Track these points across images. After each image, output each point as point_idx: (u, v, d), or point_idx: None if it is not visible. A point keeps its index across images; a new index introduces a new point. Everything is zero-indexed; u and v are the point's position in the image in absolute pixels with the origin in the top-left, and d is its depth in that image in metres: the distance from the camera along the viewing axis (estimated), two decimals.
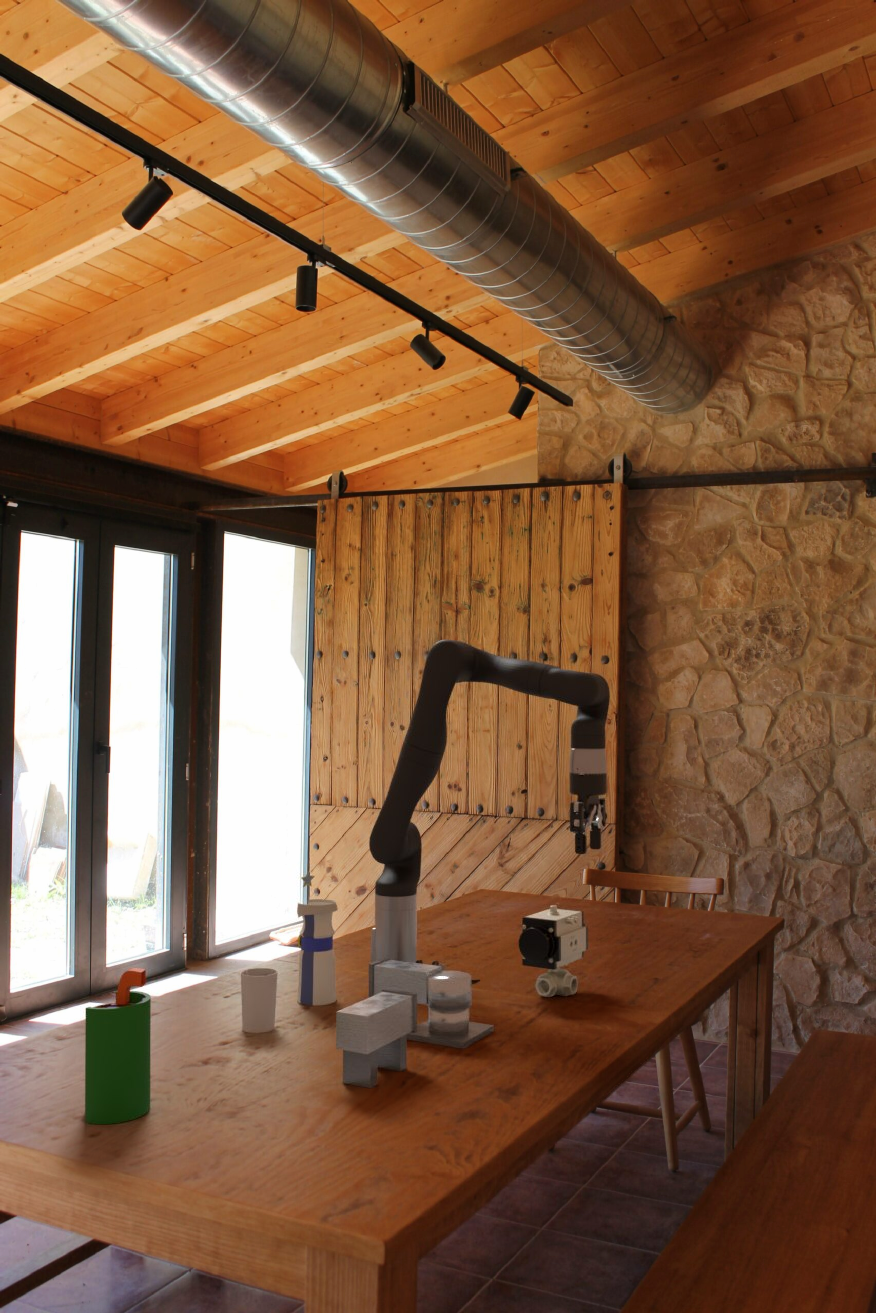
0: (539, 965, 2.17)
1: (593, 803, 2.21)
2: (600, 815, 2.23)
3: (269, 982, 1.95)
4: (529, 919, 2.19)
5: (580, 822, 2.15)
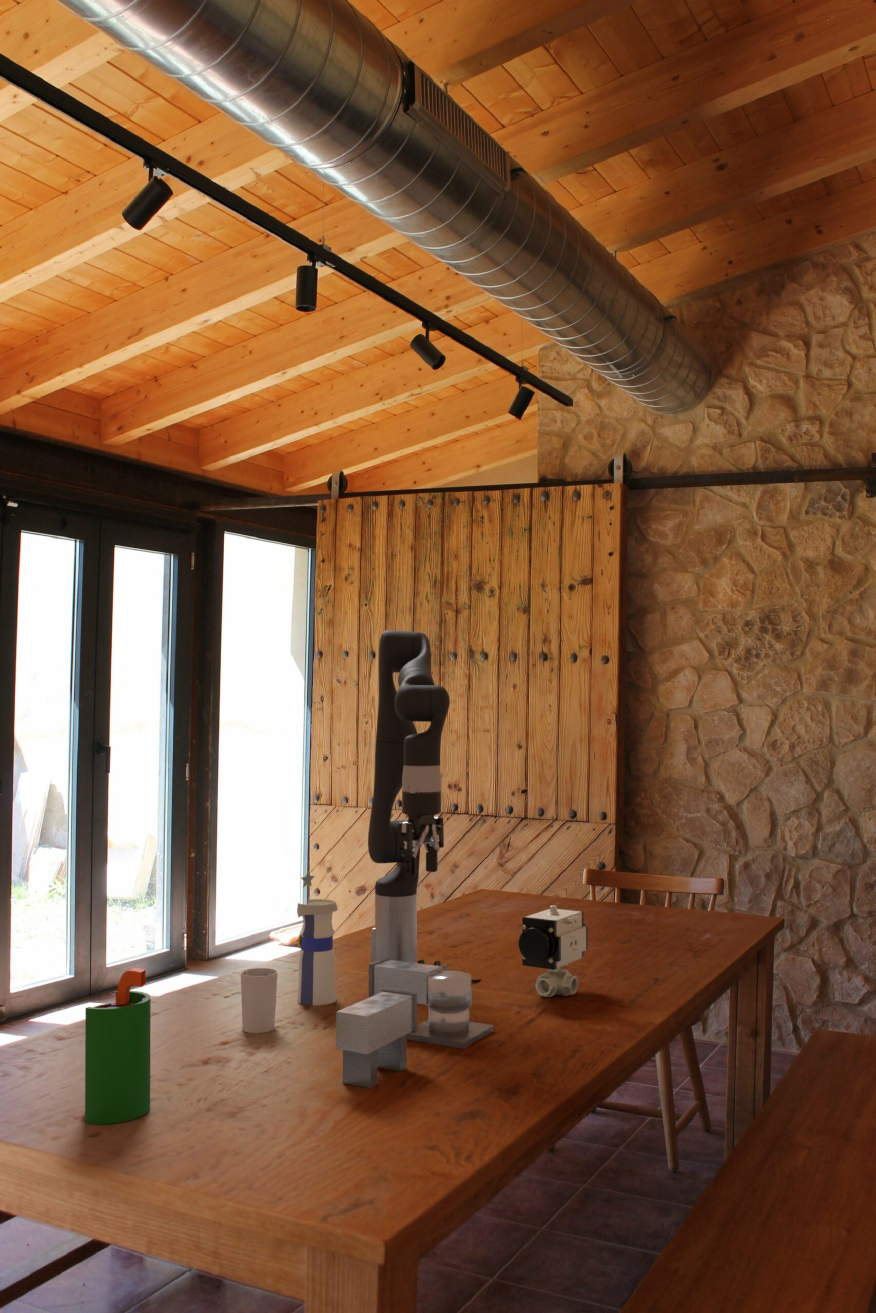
0: (539, 965, 2.17)
1: (426, 823, 2.09)
2: (435, 836, 2.10)
3: (269, 982, 1.95)
4: (529, 919, 2.19)
5: (408, 844, 2.02)
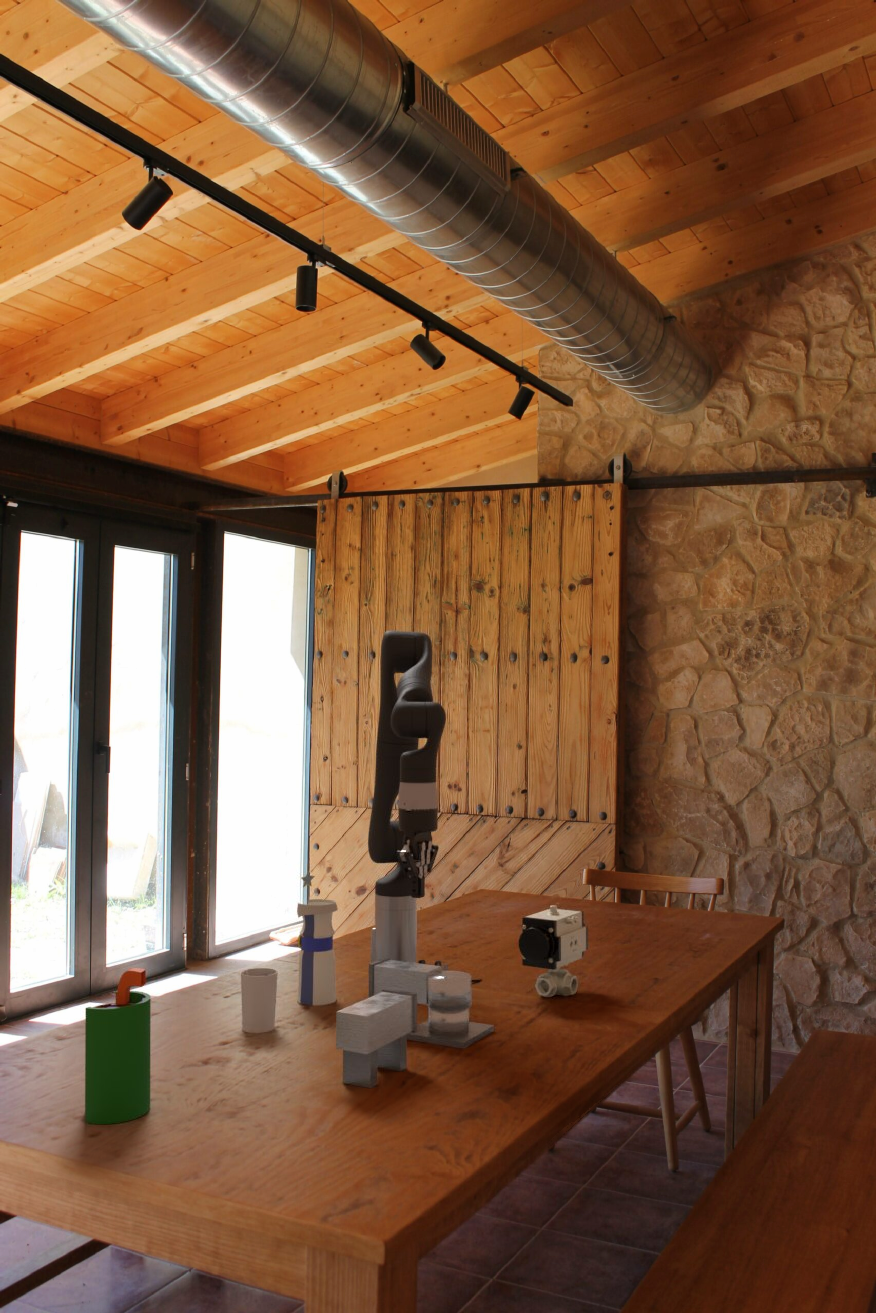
0: (539, 965, 2.17)
1: (423, 840, 2.08)
2: (428, 855, 2.09)
3: (269, 982, 1.95)
4: (529, 919, 2.19)
5: (412, 869, 2.05)
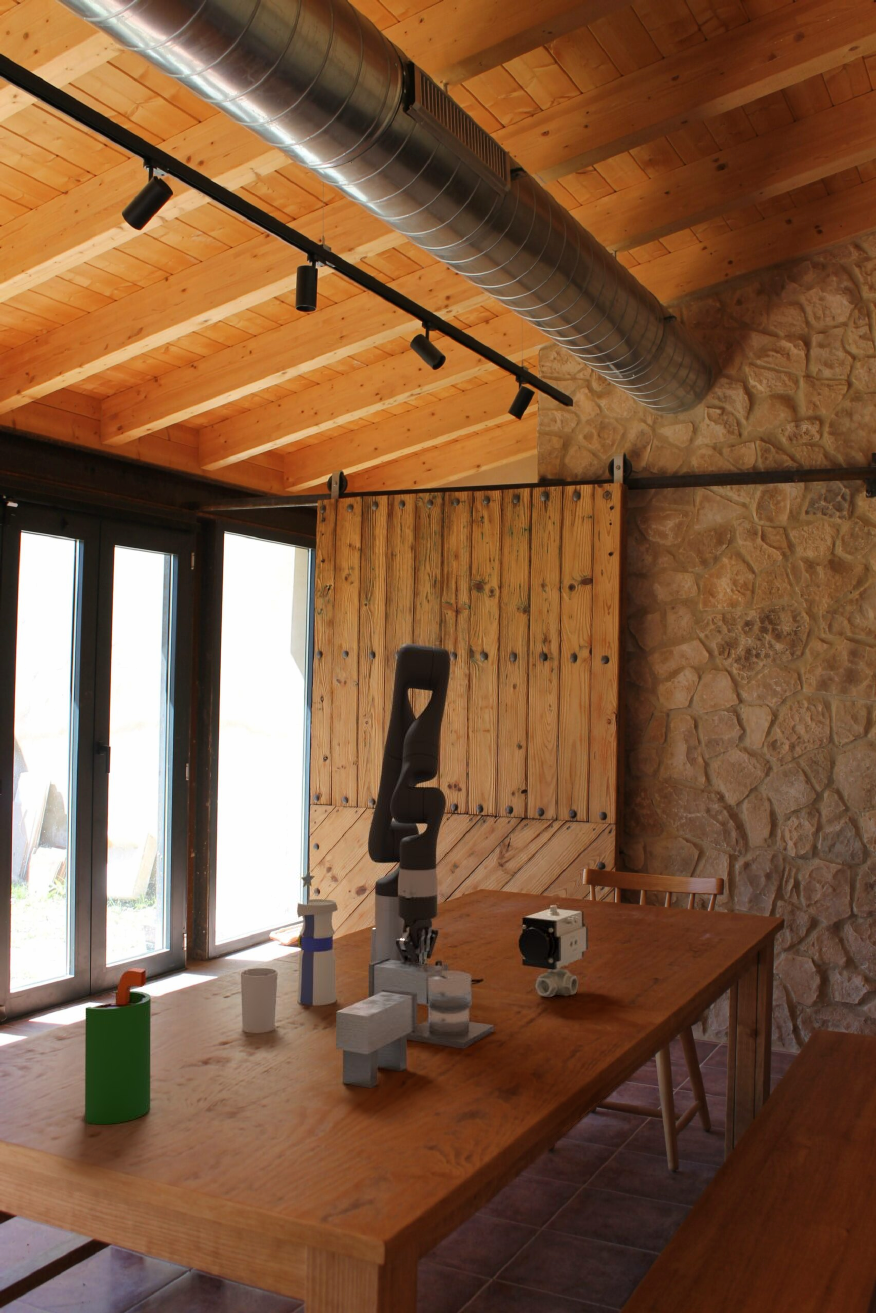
0: (539, 965, 2.17)
1: (422, 927, 2.07)
2: (427, 942, 2.08)
3: (269, 982, 1.95)
4: (529, 919, 2.19)
5: (411, 958, 2.04)
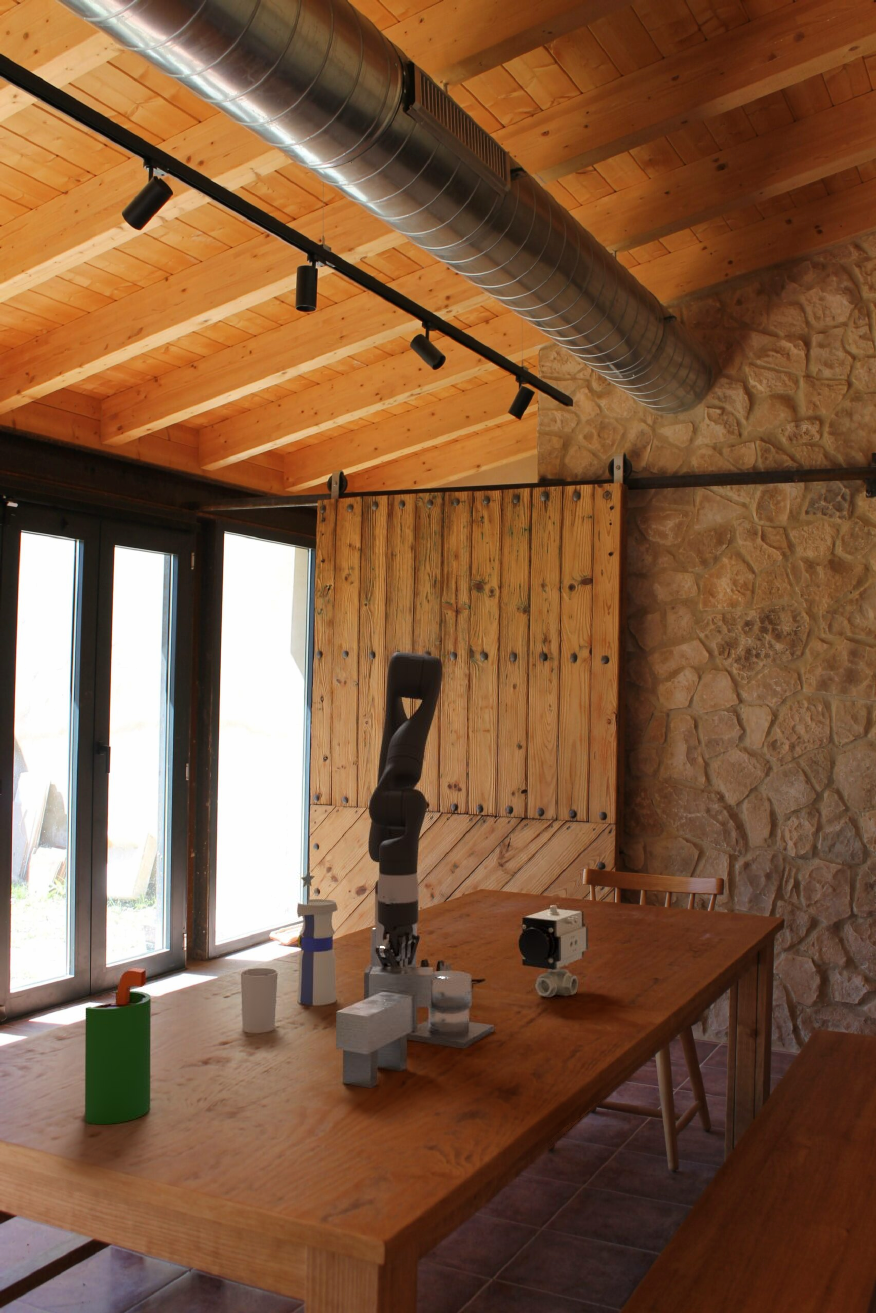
0: (539, 965, 2.17)
1: (403, 933, 2.01)
2: (408, 948, 2.02)
3: (269, 982, 1.95)
4: (529, 919, 2.19)
5: (392, 965, 1.97)
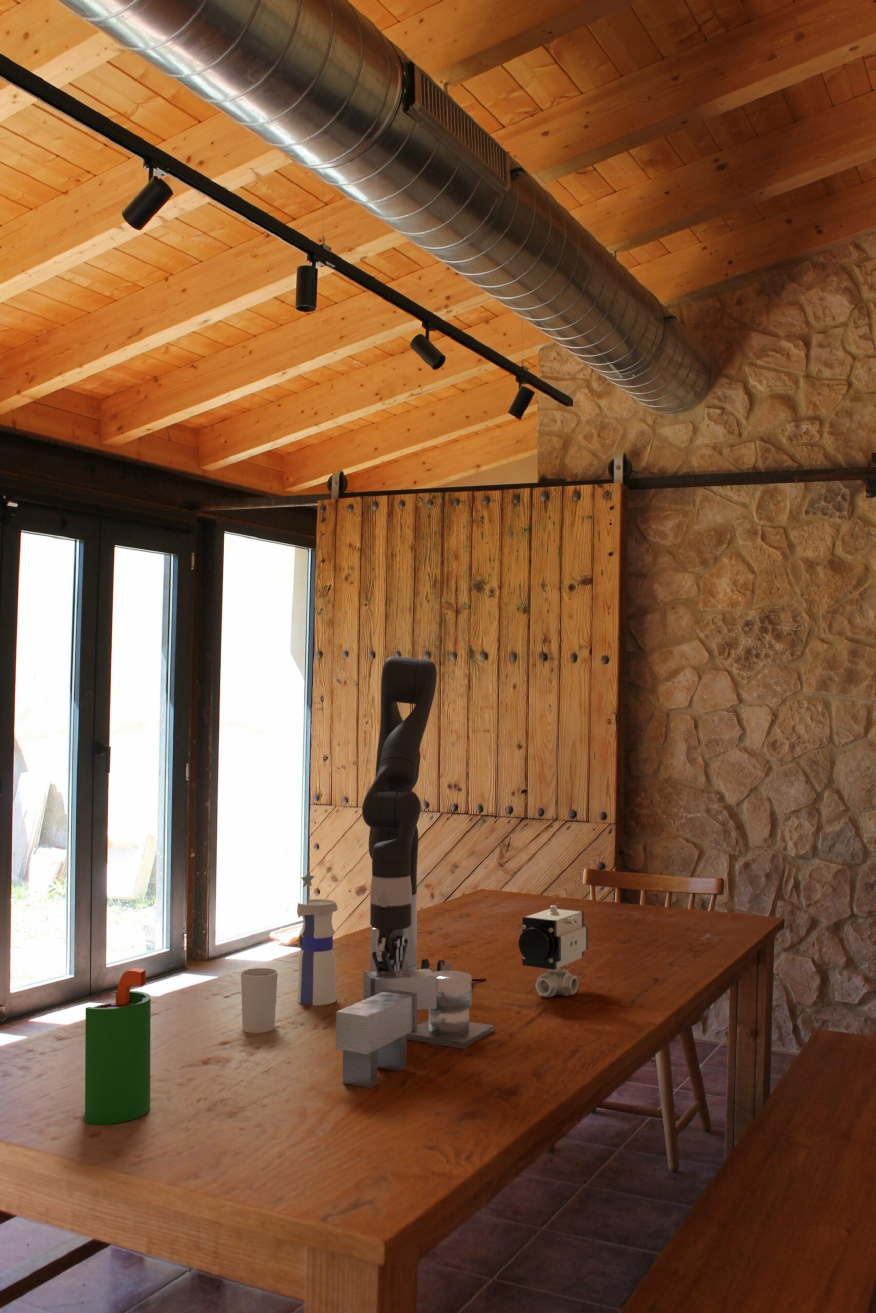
0: (539, 965, 2.17)
1: (396, 936, 1.98)
2: (401, 952, 1.99)
3: (269, 982, 1.95)
4: (529, 919, 2.19)
5: (388, 969, 1.94)
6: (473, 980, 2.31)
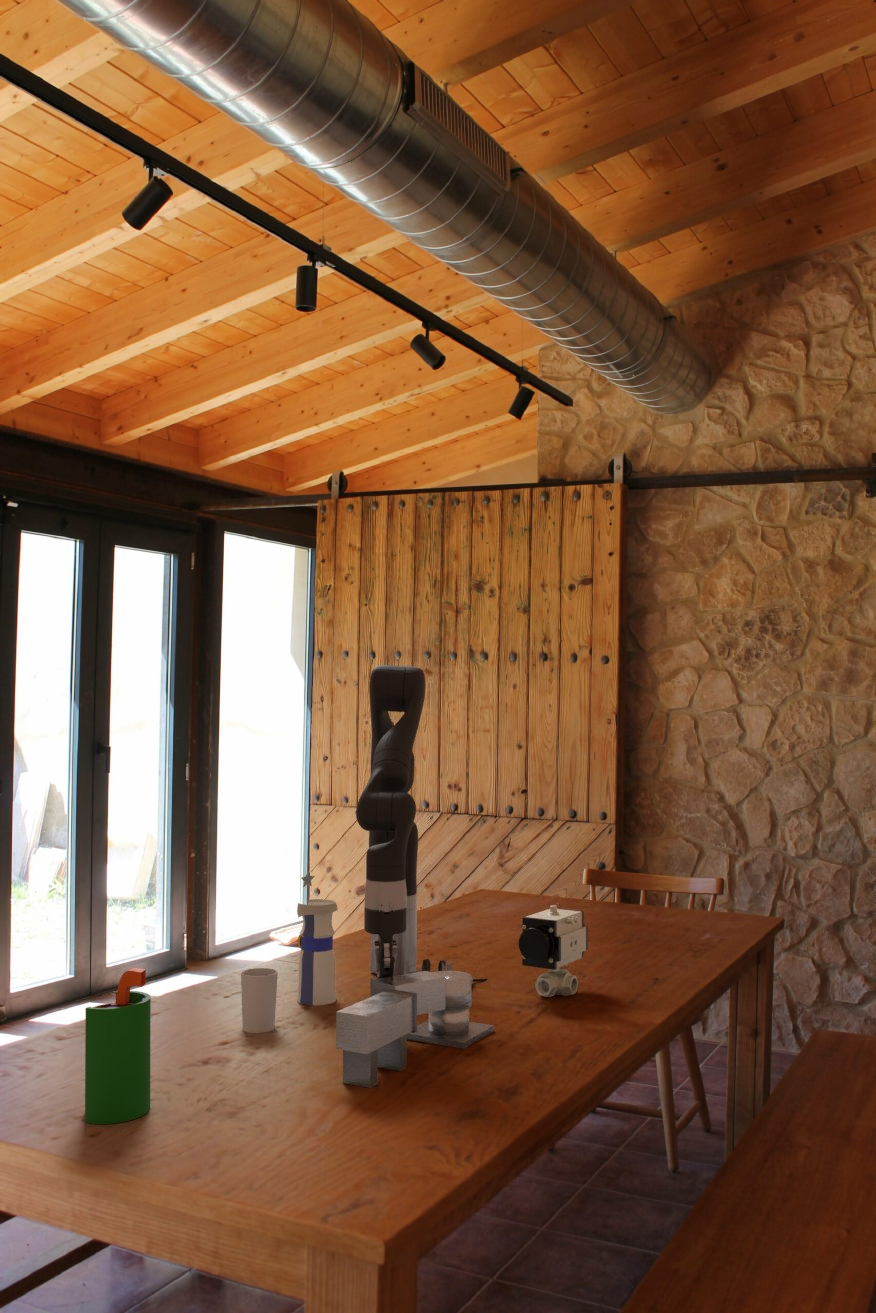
0: (539, 965, 2.17)
1: None
2: None
3: (269, 982, 1.95)
4: (529, 919, 2.19)
5: (392, 975, 1.90)
6: (474, 980, 2.32)
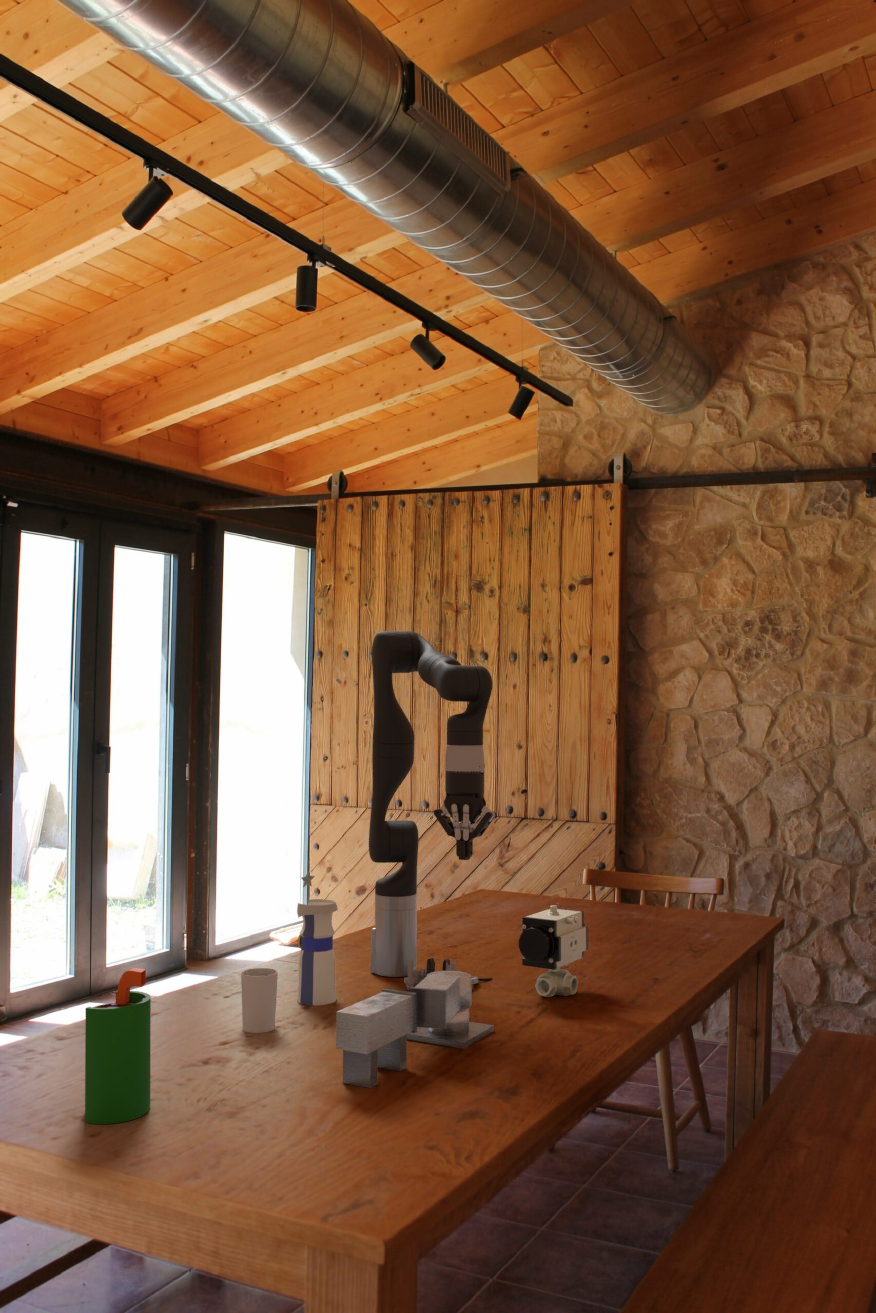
0: (539, 965, 2.17)
1: None
2: None
3: (269, 982, 1.95)
4: (529, 919, 2.19)
5: (485, 830, 2.09)
6: (479, 979, 2.32)
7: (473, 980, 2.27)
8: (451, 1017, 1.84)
